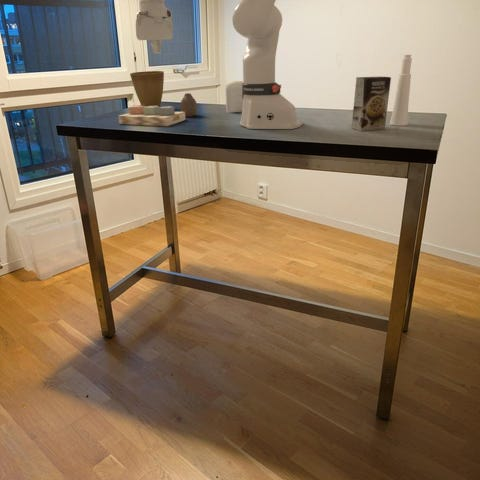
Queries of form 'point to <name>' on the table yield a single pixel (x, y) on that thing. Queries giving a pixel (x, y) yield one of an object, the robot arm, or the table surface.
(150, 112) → the button three
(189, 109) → the vase
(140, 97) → the plant pot
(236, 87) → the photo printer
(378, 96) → the cookie box
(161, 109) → the button two
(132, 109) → the button one
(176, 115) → the button panel
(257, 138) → the table surface
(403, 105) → the cosmetic bottle
